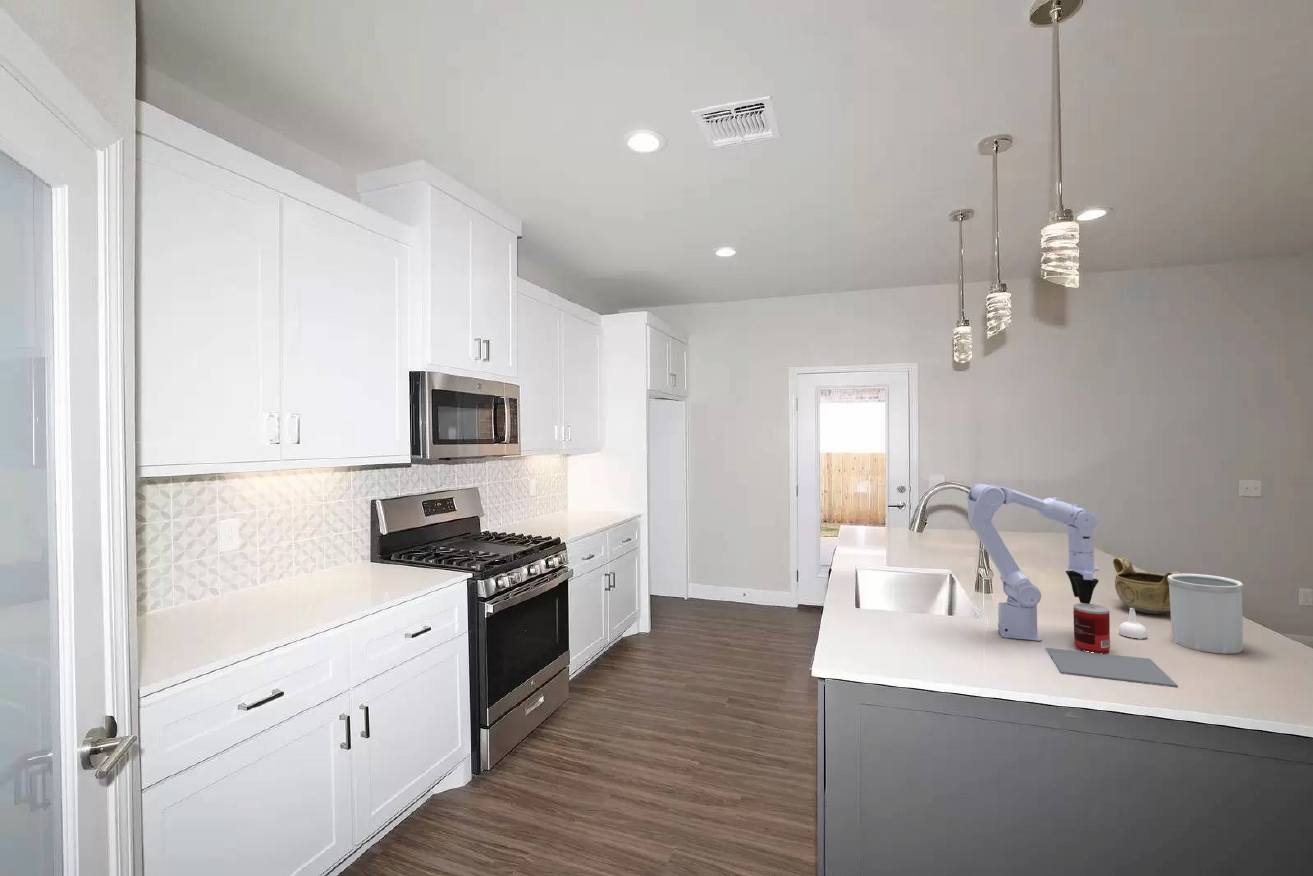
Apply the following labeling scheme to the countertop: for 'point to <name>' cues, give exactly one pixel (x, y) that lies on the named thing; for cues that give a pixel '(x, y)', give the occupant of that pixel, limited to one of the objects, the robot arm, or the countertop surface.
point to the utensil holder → (1206, 612)
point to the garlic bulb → (1132, 627)
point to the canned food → (1091, 628)
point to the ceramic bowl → (1142, 588)
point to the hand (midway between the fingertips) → (1081, 600)
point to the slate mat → (1109, 666)
